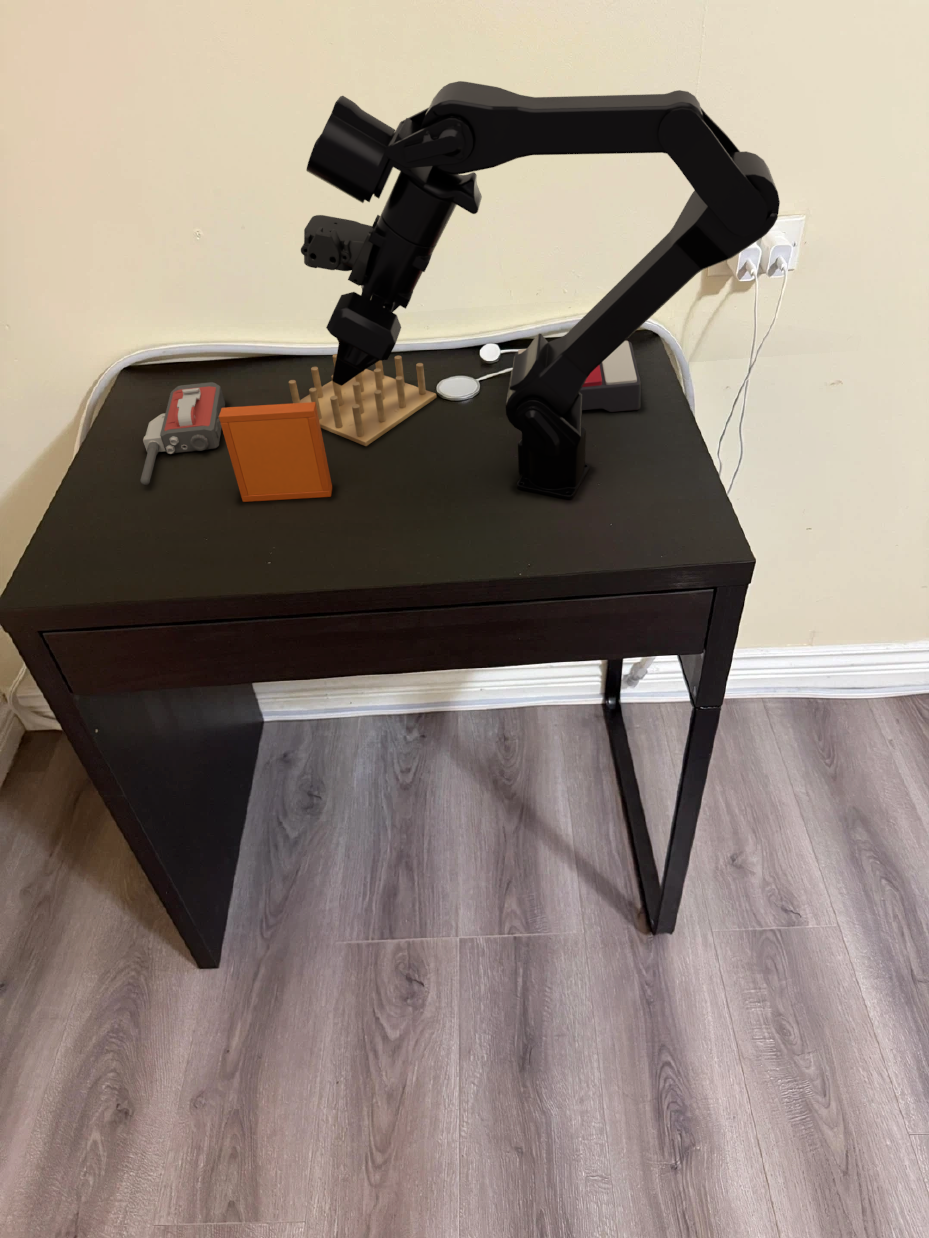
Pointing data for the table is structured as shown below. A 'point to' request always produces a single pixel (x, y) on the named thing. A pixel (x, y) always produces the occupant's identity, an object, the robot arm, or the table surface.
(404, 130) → the robot arm
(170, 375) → the table surface
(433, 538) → the table surface
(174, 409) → the walkie-talkie
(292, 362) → the table surface
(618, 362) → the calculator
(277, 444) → the lid
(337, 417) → the rack
